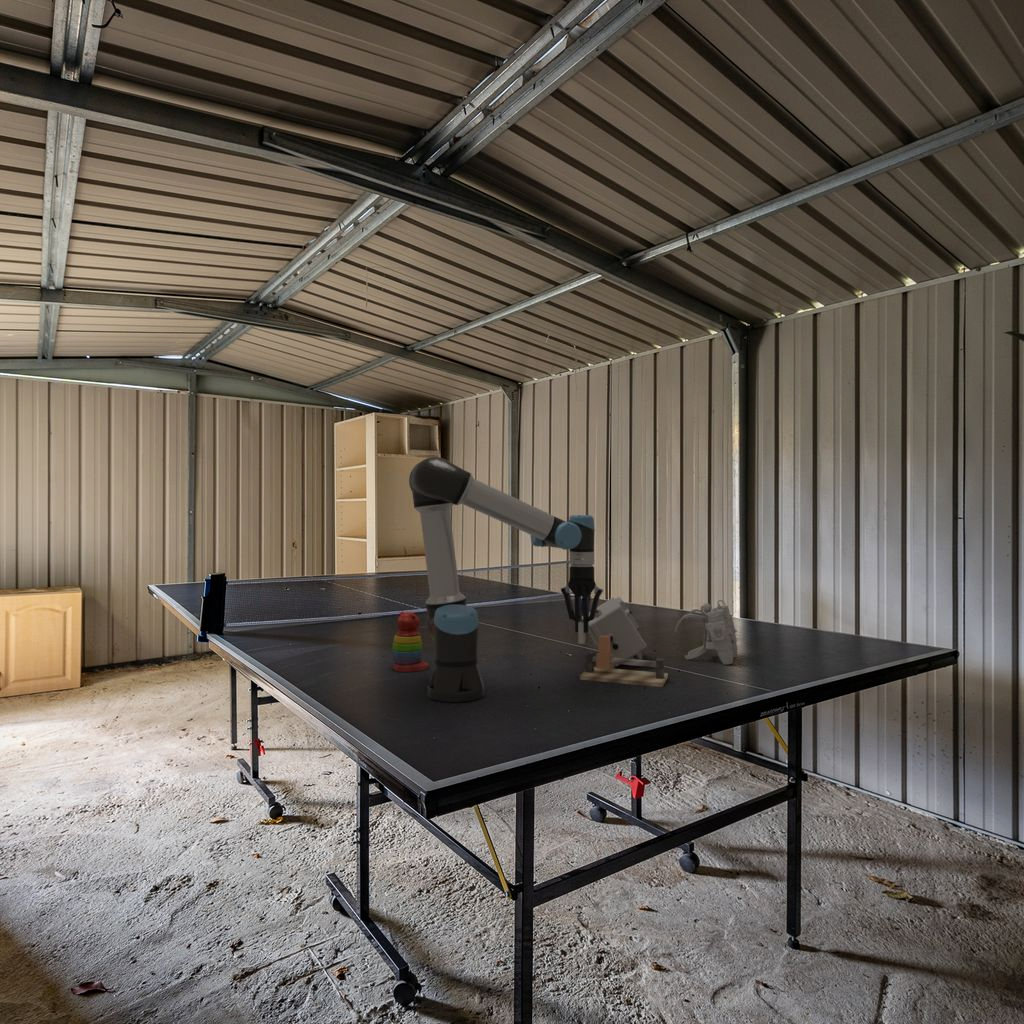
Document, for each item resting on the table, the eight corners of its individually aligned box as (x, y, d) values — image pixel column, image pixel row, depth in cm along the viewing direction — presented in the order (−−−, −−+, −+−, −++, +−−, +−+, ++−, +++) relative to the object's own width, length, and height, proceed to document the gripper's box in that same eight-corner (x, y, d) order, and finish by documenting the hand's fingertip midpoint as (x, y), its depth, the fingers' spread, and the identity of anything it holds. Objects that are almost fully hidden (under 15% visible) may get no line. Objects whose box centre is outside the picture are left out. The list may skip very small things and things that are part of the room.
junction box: (661, 657, 204) (622, 598, 204) (621, 683, 204) (582, 624, 205) (649, 642, 228) (614, 589, 228) (613, 666, 228) (578, 612, 229)
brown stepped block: (596, 667, 196) (596, 637, 196) (599, 664, 200) (599, 634, 200) (609, 669, 194) (609, 638, 194) (612, 666, 198) (612, 635, 198)
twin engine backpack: (692, 661, 232) (678, 605, 234) (746, 653, 224) (731, 596, 226) (681, 672, 216) (667, 612, 218) (739, 664, 208) (723, 602, 210)
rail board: (579, 679, 193) (579, 657, 193) (589, 670, 205) (589, 649, 205) (662, 687, 185) (662, 664, 185) (667, 677, 196) (667, 655, 196)
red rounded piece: (431, 668, 207) (432, 612, 207) (406, 674, 199) (406, 615, 199) (410, 663, 214) (410, 608, 214) (384, 668, 207) (385, 611, 207)
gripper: (557, 565, 198) (557, 643, 198) (600, 567, 194) (600, 647, 194) (564, 564, 205) (564, 639, 205) (605, 565, 201) (605, 642, 201)
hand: (581, 643), depth 199 cm, fingers closed
